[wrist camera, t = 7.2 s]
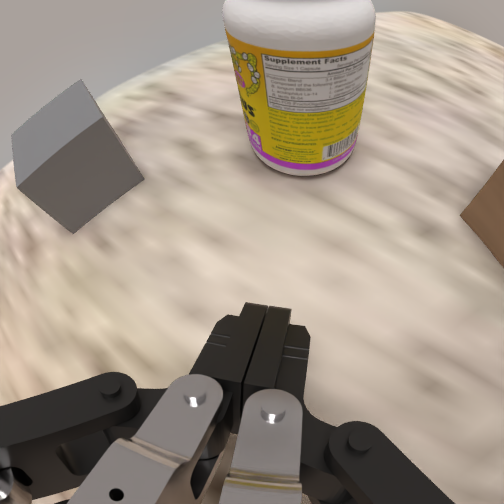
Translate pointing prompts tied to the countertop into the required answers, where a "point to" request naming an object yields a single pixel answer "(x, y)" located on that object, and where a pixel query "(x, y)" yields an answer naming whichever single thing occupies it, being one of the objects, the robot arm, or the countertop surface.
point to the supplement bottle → (301, 77)
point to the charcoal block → (72, 159)
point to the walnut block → (489, 214)
